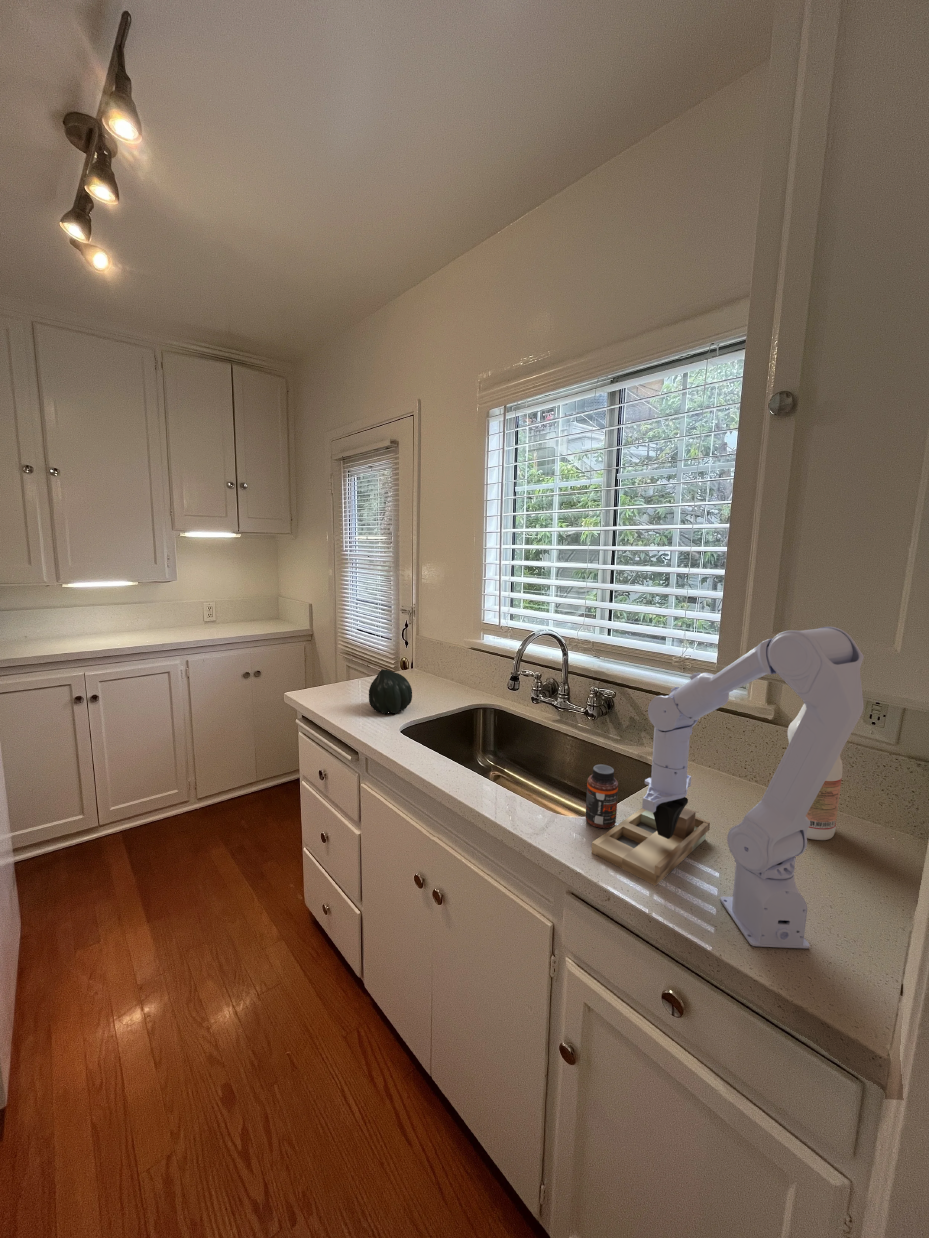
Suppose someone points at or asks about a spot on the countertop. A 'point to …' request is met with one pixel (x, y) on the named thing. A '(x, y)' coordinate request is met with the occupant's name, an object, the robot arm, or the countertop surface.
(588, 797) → the supplement bottle
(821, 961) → the countertop surface
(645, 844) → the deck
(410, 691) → the squash
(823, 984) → the countertop surface
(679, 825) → the walnut block
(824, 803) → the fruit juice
